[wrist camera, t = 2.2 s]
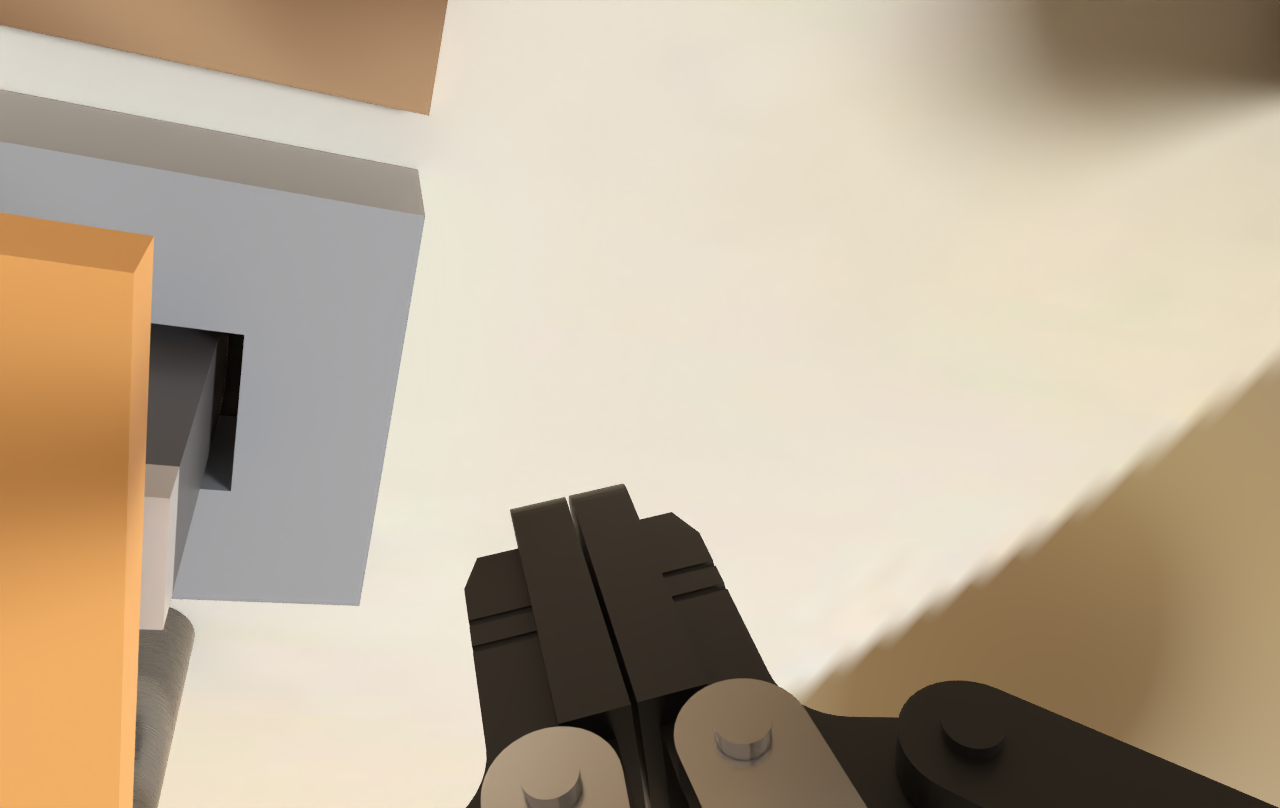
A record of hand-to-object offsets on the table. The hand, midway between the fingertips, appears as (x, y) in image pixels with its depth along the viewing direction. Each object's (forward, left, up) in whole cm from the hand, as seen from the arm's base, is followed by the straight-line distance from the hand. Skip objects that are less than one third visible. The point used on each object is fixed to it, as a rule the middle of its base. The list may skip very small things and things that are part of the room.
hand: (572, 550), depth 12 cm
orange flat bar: (+7, -7, -5) cm, 11 cm away
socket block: (+5, -7, -14) cm, 17 cm away
